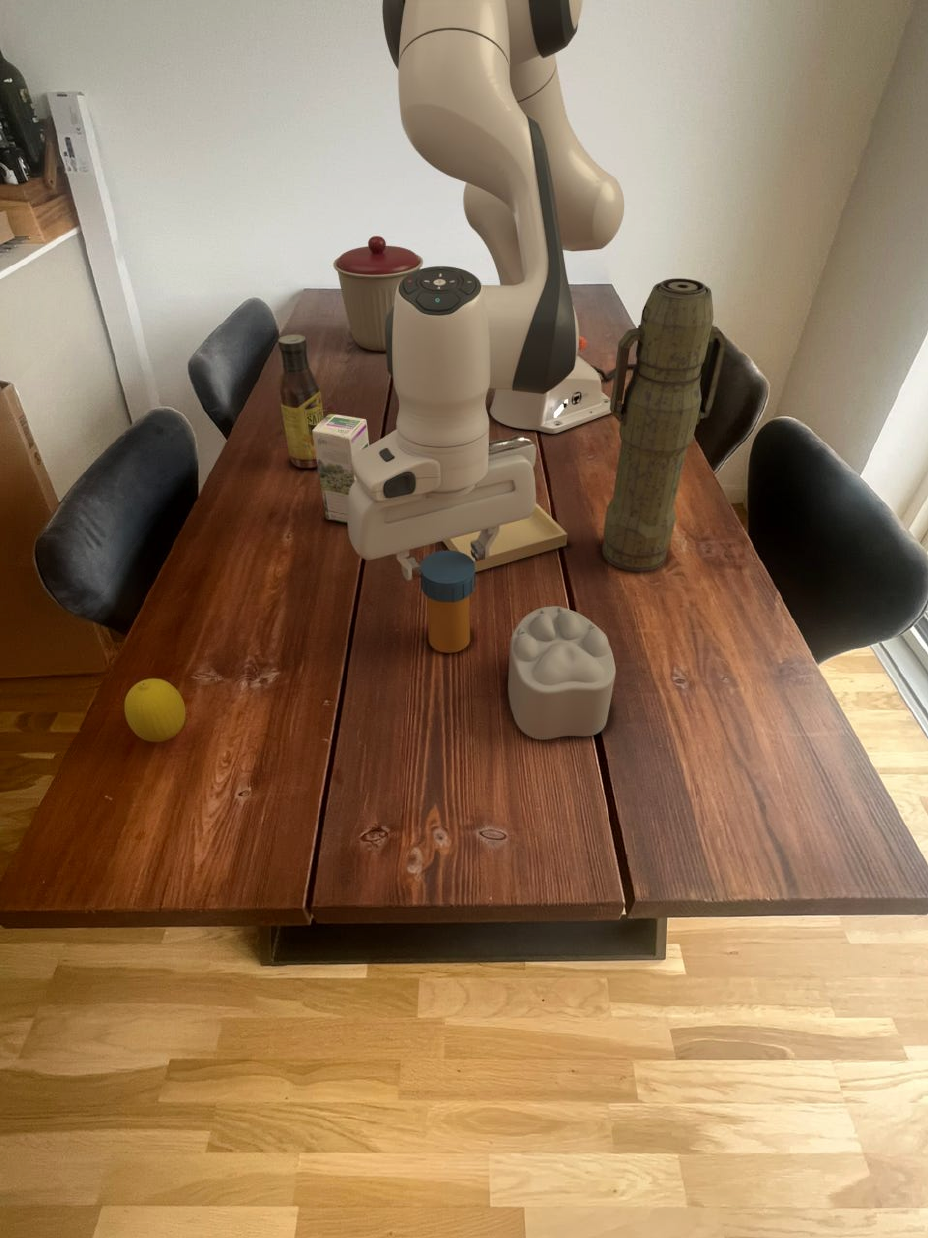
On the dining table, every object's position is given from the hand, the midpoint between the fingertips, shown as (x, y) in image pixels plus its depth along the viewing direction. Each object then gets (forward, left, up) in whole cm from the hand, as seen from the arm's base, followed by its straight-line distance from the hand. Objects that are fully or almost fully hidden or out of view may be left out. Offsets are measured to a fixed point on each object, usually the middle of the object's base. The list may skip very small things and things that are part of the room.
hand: (446, 566), depth 80 cm
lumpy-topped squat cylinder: (-7, +13, -11) cm, 19 cm away
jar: (0, 0, -11) cm, 11 cm away
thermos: (-30, -5, -11) cm, 33 cm away
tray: (-15, -17, -11) cm, 25 cm away
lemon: (+33, +1, -11) cm, 35 cm away
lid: (0, 0, 0) cm, 0 cm away
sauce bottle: (+3, -49, -11) cm, 50 cm away
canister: (-26, -92, -11) cm, 96 cm away
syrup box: (+2, -31, -11) cm, 33 cm away
